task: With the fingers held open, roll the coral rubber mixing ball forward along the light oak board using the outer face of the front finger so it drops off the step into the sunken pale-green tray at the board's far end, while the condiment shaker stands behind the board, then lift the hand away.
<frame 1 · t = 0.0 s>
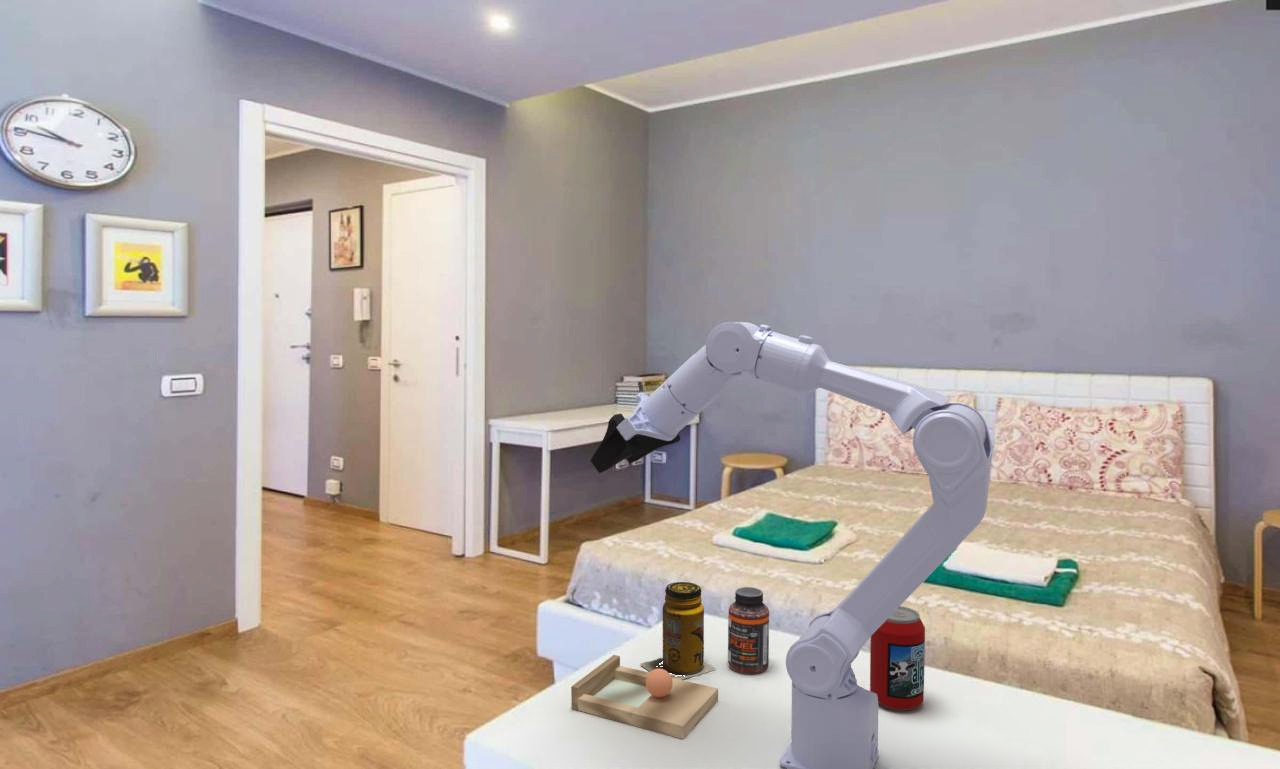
hand: (611, 461, 98), 32 cm above the table, tool tilted 50°, fingers open, 7 cm apart
ball: (659, 682, 99), point 3 cm above the table, touching board
beverage can: (896, 703, 101), on the table
board: (645, 704, 100), on the table
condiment: (677, 669, 112), on the table
supplement bottle: (748, 668, 112), on the table
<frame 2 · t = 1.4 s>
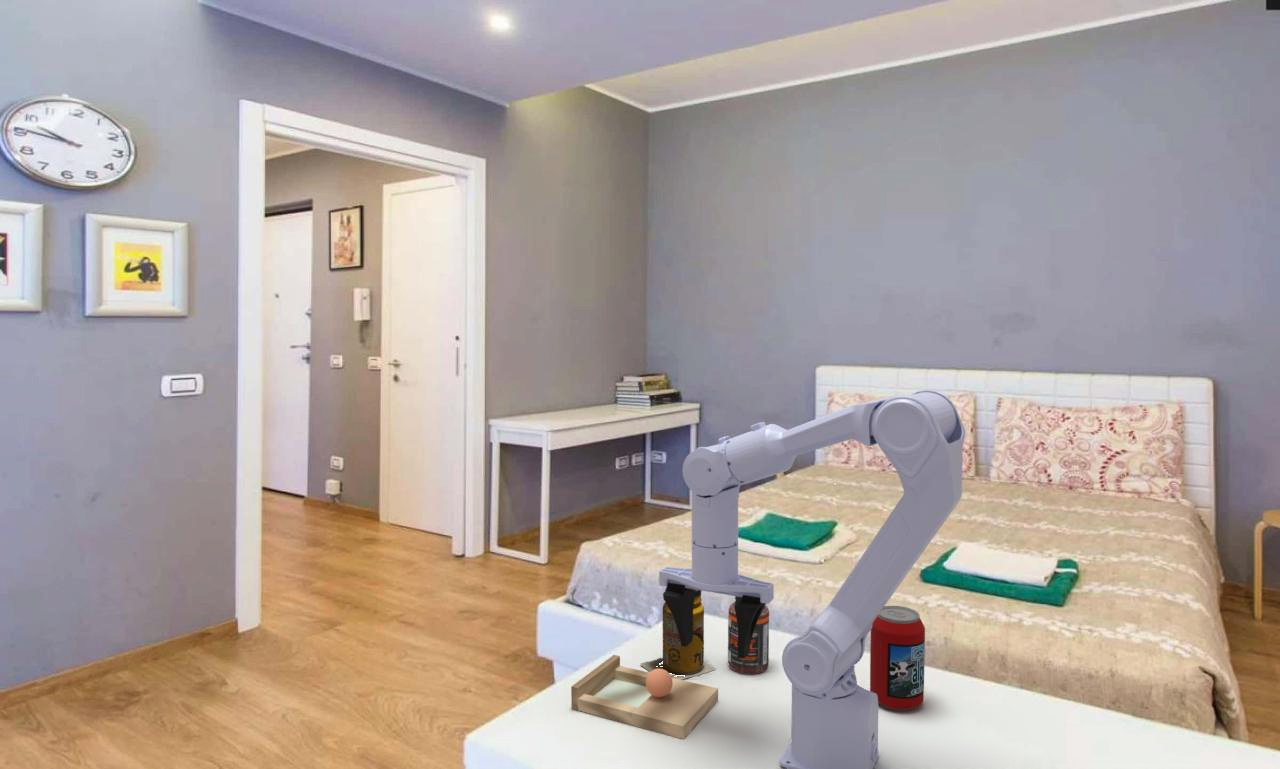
hand: (714, 649, 95), 9 cm above the table, tool pointing down, fingers open, 7 cm apart
nothing on the table moved.
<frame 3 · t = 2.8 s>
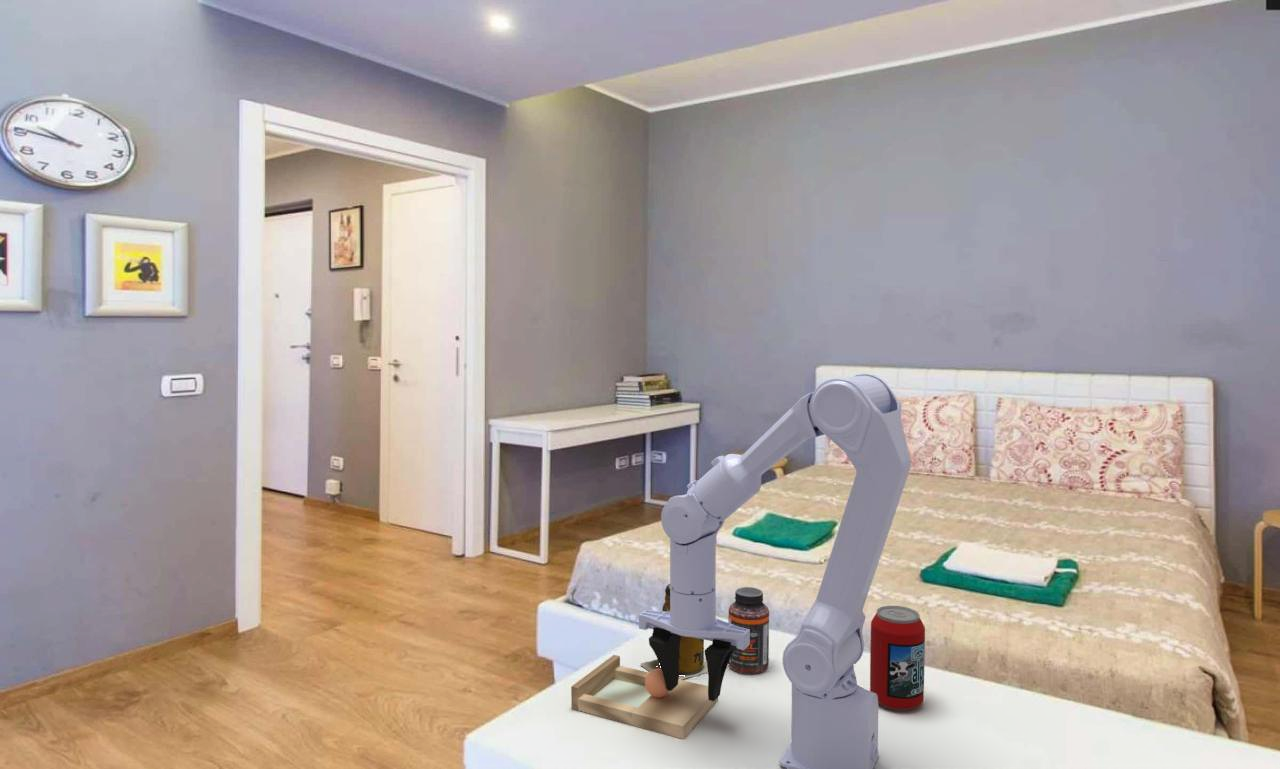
hand: (692, 692, 97), 3 cm above the table, tool pointing down, fingers open, 5 cm apart
ball: (658, 682, 99), point 3 cm above the table, touching board, gripper
everything else where it was.
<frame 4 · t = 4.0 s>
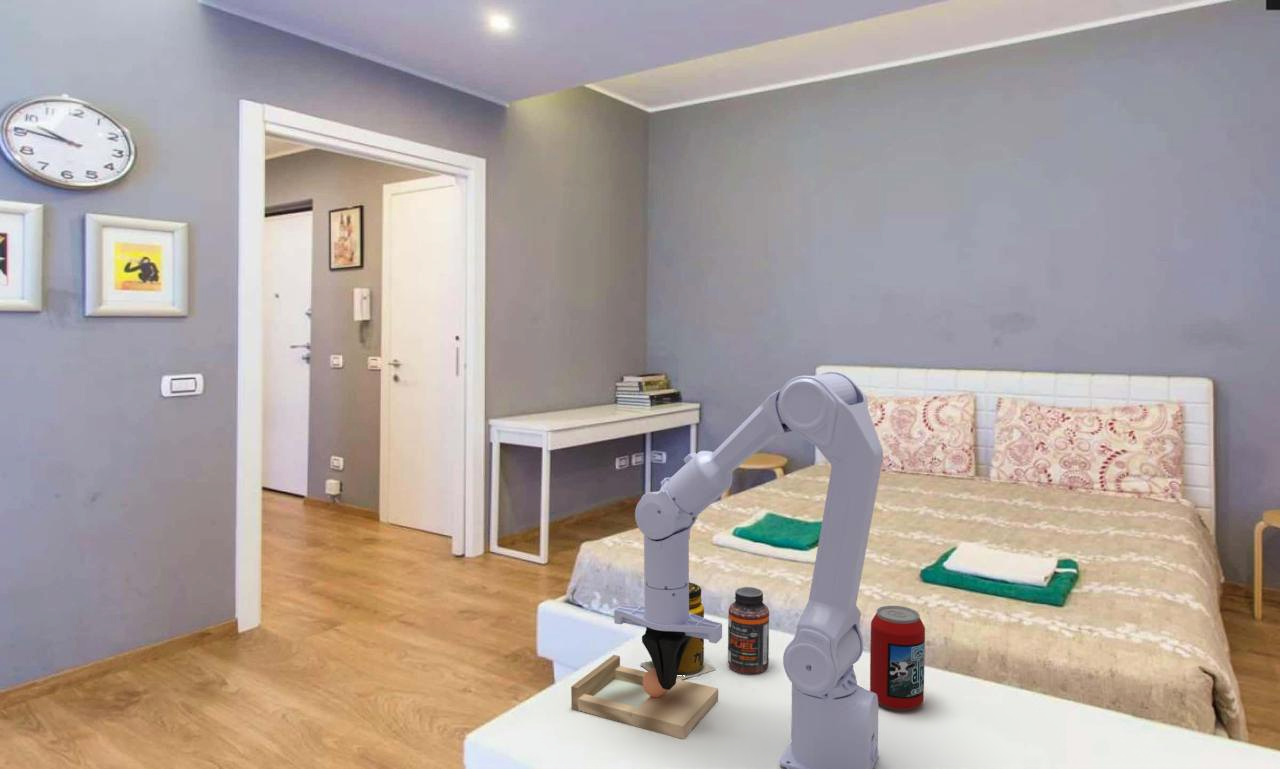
hand: (667, 685, 99), 3 cm above the table, tool pointing down, fingers closed, pressing on ball
ball: (656, 682, 100), point 3 cm above the table, tilted 15°, touching board, gripper
everything else where it was.
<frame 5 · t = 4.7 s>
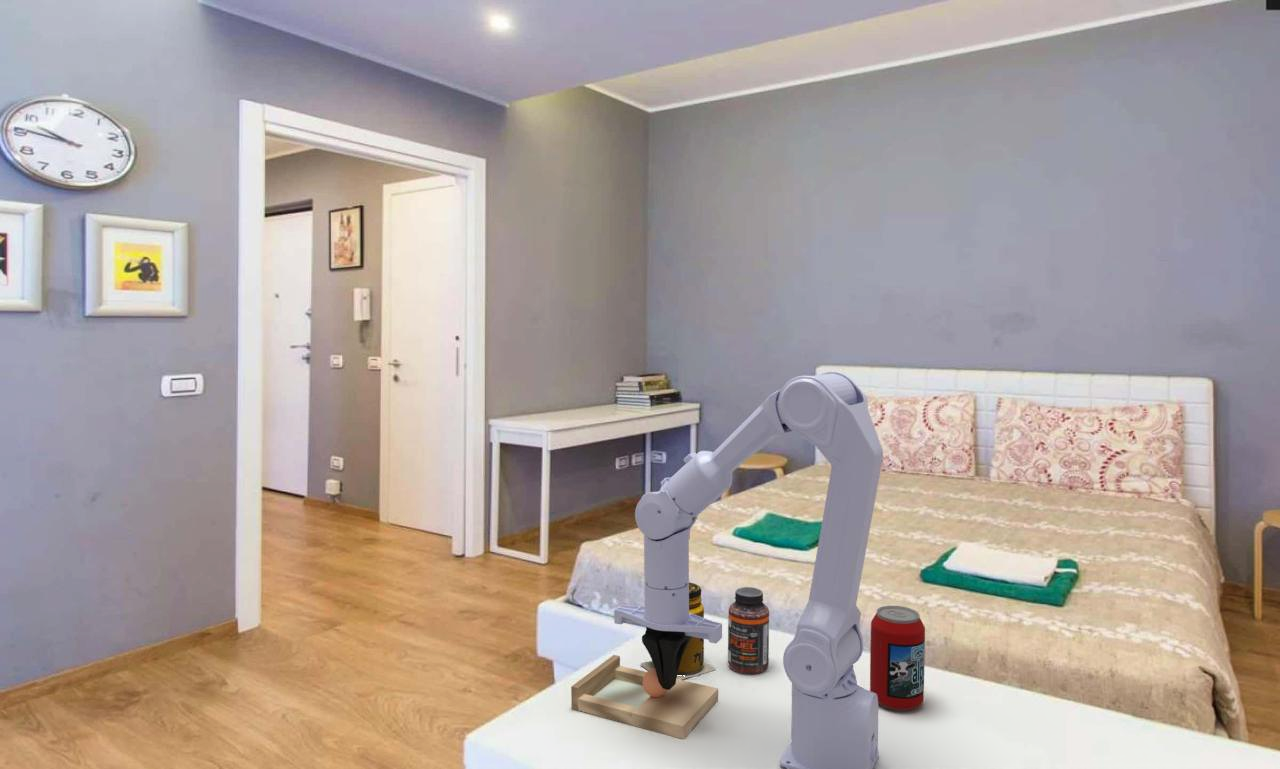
hand: (667, 685, 99), 3 cm above the table, tool pointing down, fingers closed, pressing on ball
ball: (655, 682, 100), point 3 cm above the table, tilted 15°, touching board, gripper
everything else where it was.
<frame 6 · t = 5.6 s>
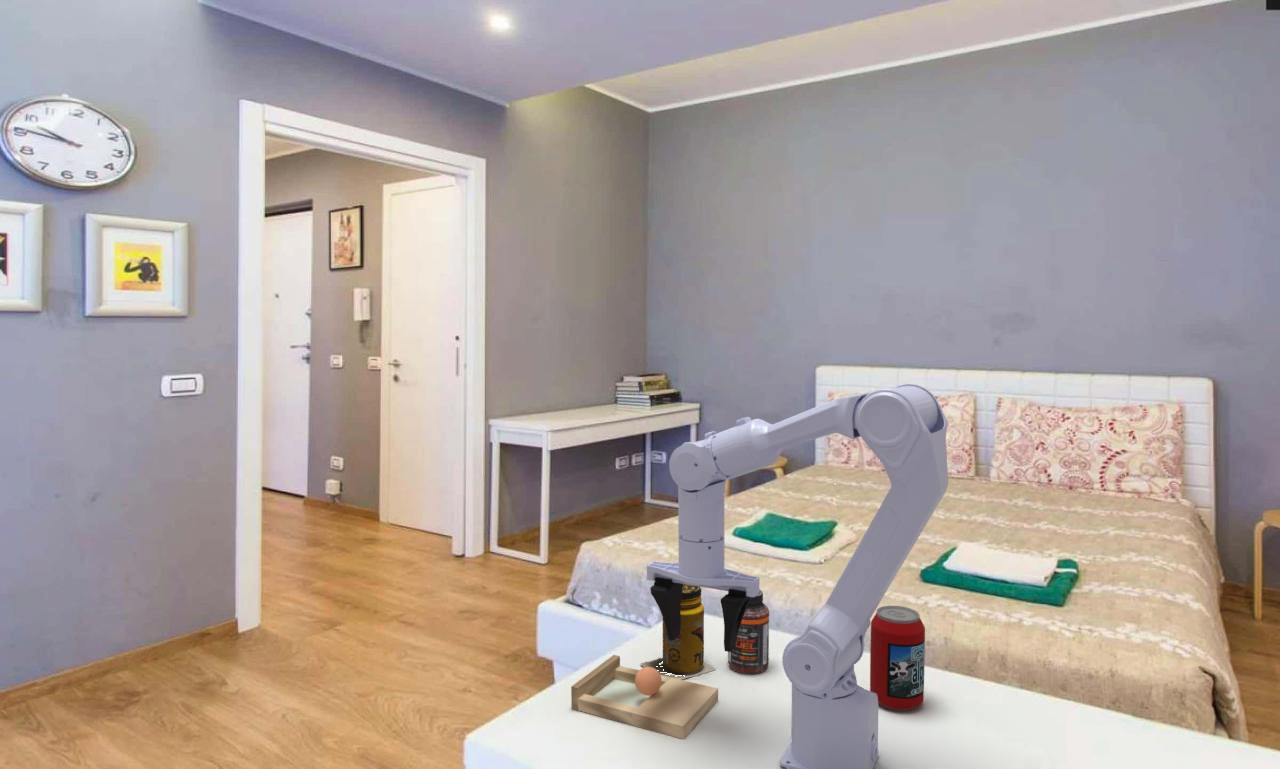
hand: (701, 643, 96), 10 cm above the table, tool pointing down, fingers open, 7 cm apart
ball: (648, 681, 100), point 3 cm above the table, tilted 52°, touching board
everything else where it was.
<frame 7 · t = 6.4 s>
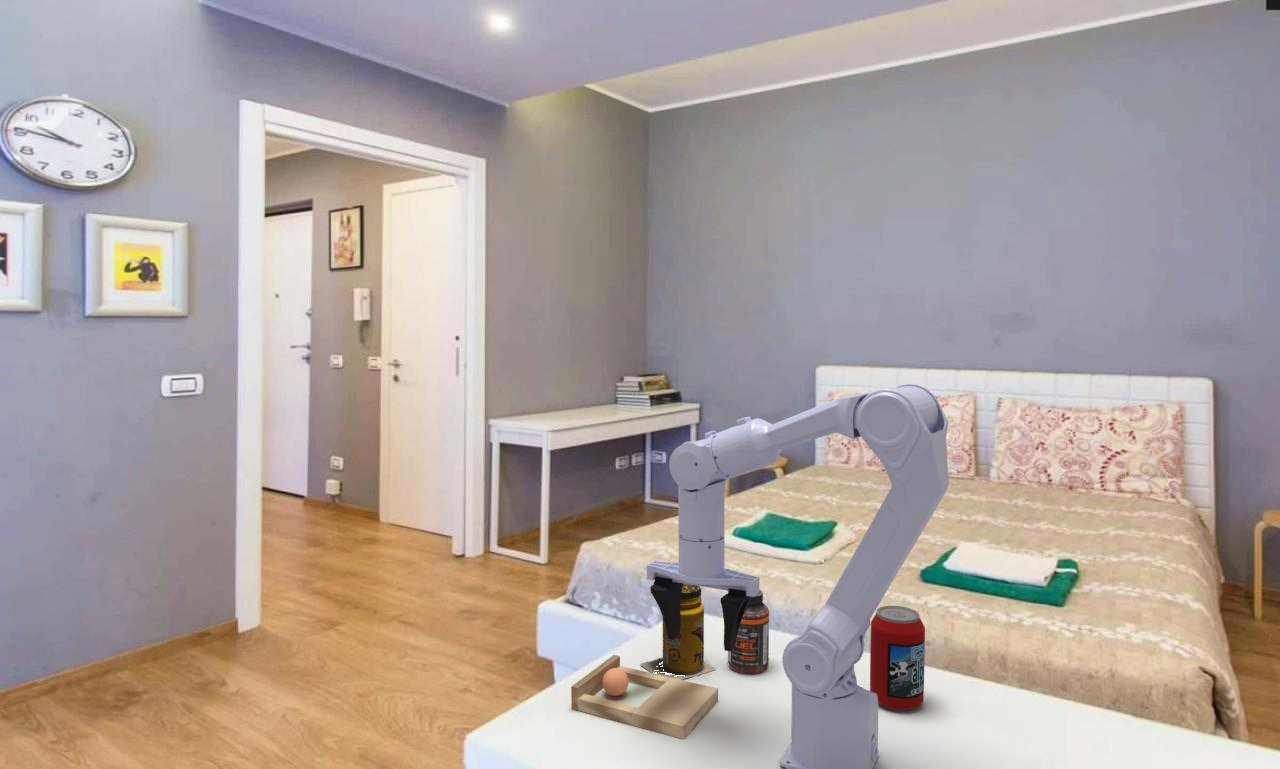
hand: (701, 642, 96), 10 cm above the table, tool pointing down, fingers open, 7 cm apart
ball: (615, 681, 102), point 2 cm above the table, tilted 130°, touching board
everything else where it was.
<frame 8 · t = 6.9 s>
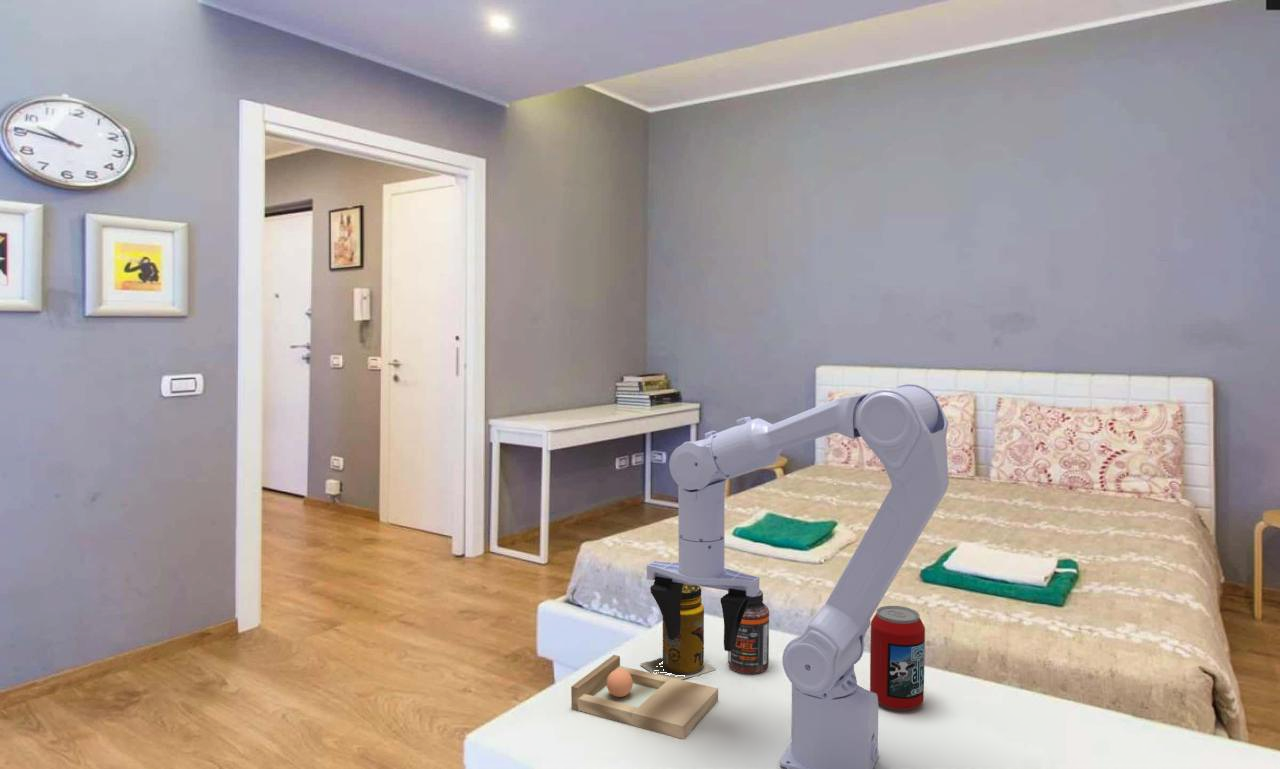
hand: (701, 642, 96), 10 cm above the table, tool pointing down, fingers open, 7 cm apart
ball: (619, 682, 102), point 2 cm above the table, tilted 151°, touching board
everything else where it was.
at the end: ball inside the target area on the board (0.2 cm from its centre), point 2.0 cm above the board's base; ball moved 5.8 cm from its start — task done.
